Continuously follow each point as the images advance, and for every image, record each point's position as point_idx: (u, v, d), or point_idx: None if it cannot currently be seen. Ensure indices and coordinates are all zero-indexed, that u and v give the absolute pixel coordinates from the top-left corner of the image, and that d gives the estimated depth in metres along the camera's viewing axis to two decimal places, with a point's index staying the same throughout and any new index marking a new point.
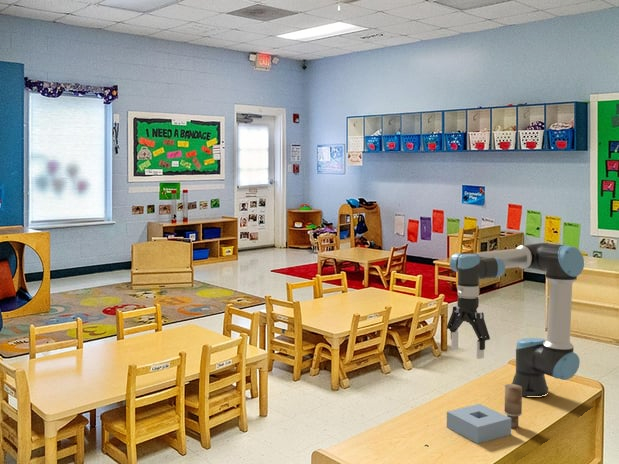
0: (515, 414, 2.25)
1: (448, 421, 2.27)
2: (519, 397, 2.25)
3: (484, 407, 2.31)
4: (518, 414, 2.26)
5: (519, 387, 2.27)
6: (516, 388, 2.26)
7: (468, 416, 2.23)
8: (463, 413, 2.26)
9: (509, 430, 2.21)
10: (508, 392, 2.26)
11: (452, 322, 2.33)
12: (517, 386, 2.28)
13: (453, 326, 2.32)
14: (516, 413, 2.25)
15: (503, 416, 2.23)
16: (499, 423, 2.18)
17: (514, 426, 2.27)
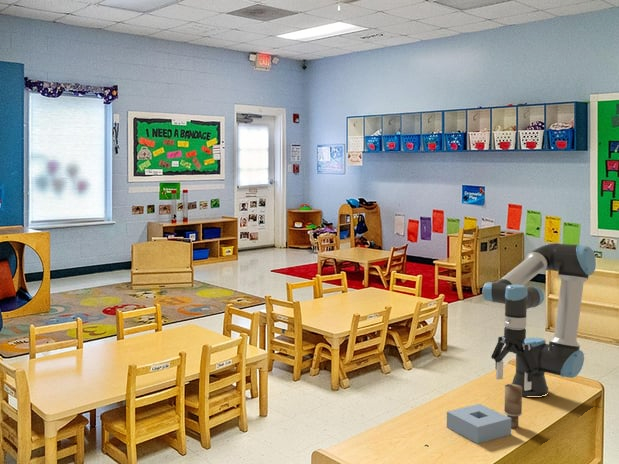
0: (515, 414, 2.25)
1: (448, 421, 2.27)
2: (519, 397, 2.25)
3: (484, 407, 2.31)
4: (518, 414, 2.26)
5: (519, 387, 2.27)
6: (516, 388, 2.26)
7: (468, 416, 2.23)
8: (463, 413, 2.26)
9: (509, 430, 2.21)
10: (508, 392, 2.26)
11: (497, 352, 2.33)
12: (517, 386, 2.28)
13: (498, 356, 2.31)
14: (516, 413, 2.25)
15: (503, 416, 2.23)
16: (499, 423, 2.18)
17: (514, 426, 2.27)
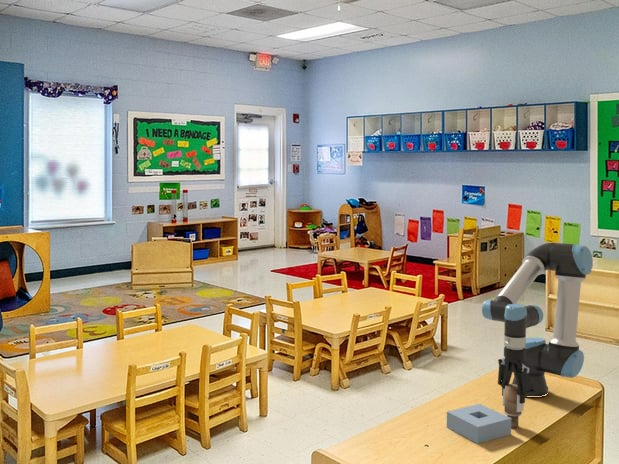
0: (515, 414, 2.25)
1: (448, 421, 2.27)
2: None
3: (484, 407, 2.31)
4: (518, 414, 2.26)
5: None
6: (516, 388, 2.26)
7: (468, 416, 2.23)
8: (463, 413, 2.26)
9: (509, 430, 2.21)
10: (508, 392, 2.26)
11: (502, 376, 2.32)
12: None
13: (504, 381, 2.30)
14: (516, 413, 2.25)
15: (503, 416, 2.23)
16: (499, 423, 2.18)
17: (514, 426, 2.27)
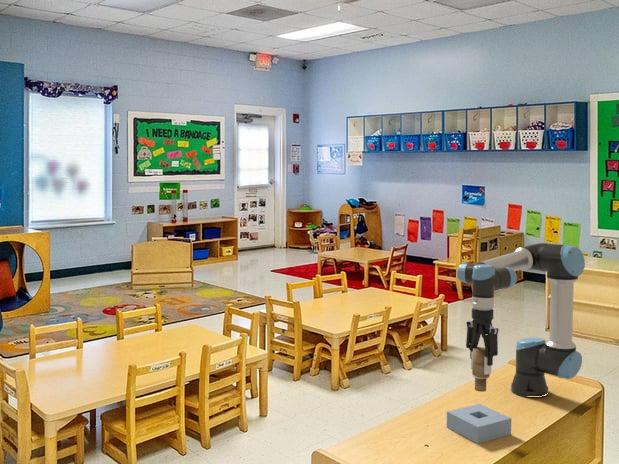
0: (483, 377, 2.20)
1: (448, 421, 2.27)
2: None
3: (484, 407, 2.31)
4: (486, 377, 2.20)
5: None
6: (484, 350, 2.21)
7: (468, 416, 2.23)
8: (463, 413, 2.26)
9: (509, 430, 2.21)
10: (475, 354, 2.21)
11: (470, 339, 2.26)
12: None
13: (472, 344, 2.25)
14: (484, 375, 2.20)
15: (503, 416, 2.23)
16: (499, 423, 2.18)
17: (482, 389, 2.21)
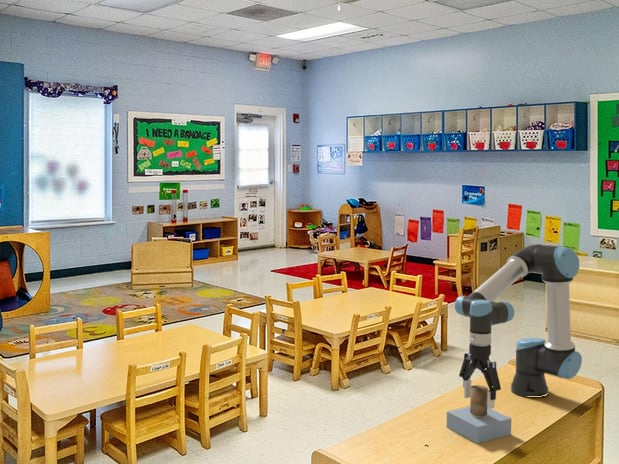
0: (480, 416, 2.21)
1: (448, 421, 2.27)
2: (484, 399, 2.21)
3: None
4: (483, 416, 2.22)
5: (485, 388, 2.23)
6: (481, 389, 2.22)
7: (468, 416, 2.23)
8: (463, 413, 2.26)
9: (509, 430, 2.21)
10: (473, 394, 2.22)
11: (464, 370, 2.29)
12: (483, 387, 2.24)
13: (466, 374, 2.28)
14: (482, 414, 2.21)
15: (503, 416, 2.23)
16: (499, 423, 2.18)
17: None
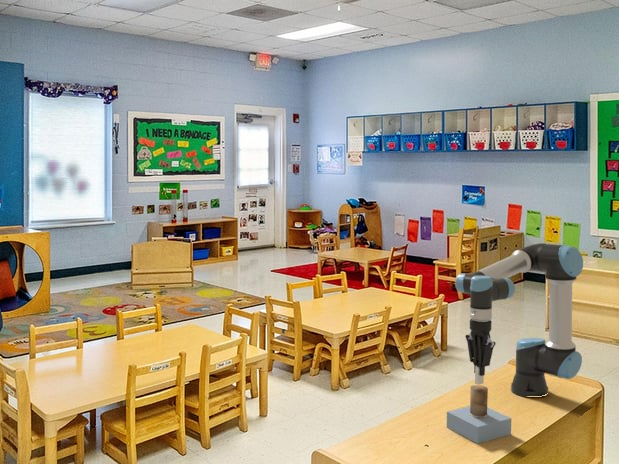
0: (480, 416, 2.21)
1: (448, 421, 2.27)
2: (484, 399, 2.21)
3: None
4: (483, 416, 2.22)
5: (485, 388, 2.23)
6: (481, 389, 2.22)
7: (468, 416, 2.23)
8: (463, 413, 2.26)
9: (509, 430, 2.21)
10: (473, 394, 2.22)
11: (472, 352, 2.25)
12: (483, 387, 2.24)
13: (474, 357, 2.23)
14: (482, 414, 2.21)
15: (503, 416, 2.23)
16: (499, 423, 2.18)
17: None
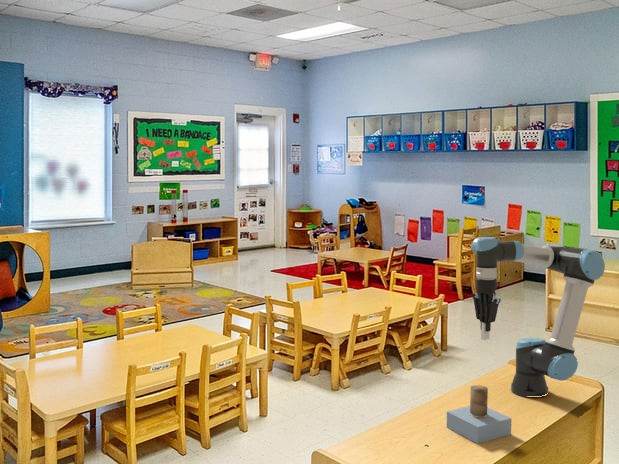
0: (480, 416, 2.21)
1: (448, 421, 2.27)
2: (484, 399, 2.21)
3: None
4: (483, 416, 2.22)
5: (485, 388, 2.23)
6: (481, 389, 2.22)
7: (468, 416, 2.23)
8: (463, 413, 2.26)
9: (509, 430, 2.21)
10: (473, 394, 2.22)
11: (479, 310, 2.38)
12: (483, 387, 2.24)
13: (480, 314, 2.36)
14: (482, 414, 2.21)
15: (503, 416, 2.23)
16: (499, 423, 2.18)
17: None
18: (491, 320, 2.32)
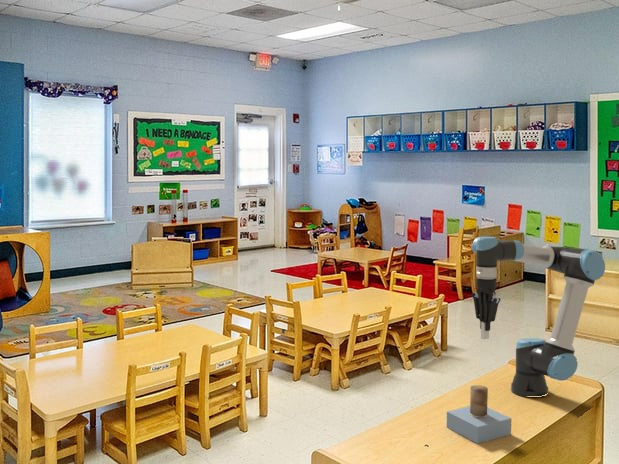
0: (480, 416, 2.21)
1: (448, 421, 2.27)
2: (484, 399, 2.21)
3: None
4: (483, 416, 2.22)
5: (485, 388, 2.23)
6: (481, 389, 2.22)
7: (468, 416, 2.23)
8: (463, 413, 2.26)
9: (509, 430, 2.21)
10: (473, 394, 2.22)
11: (478, 309, 2.38)
12: (483, 387, 2.24)
13: (480, 314, 2.36)
14: (482, 414, 2.21)
15: (503, 416, 2.23)
16: (499, 423, 2.18)
17: None
18: (491, 319, 2.32)
